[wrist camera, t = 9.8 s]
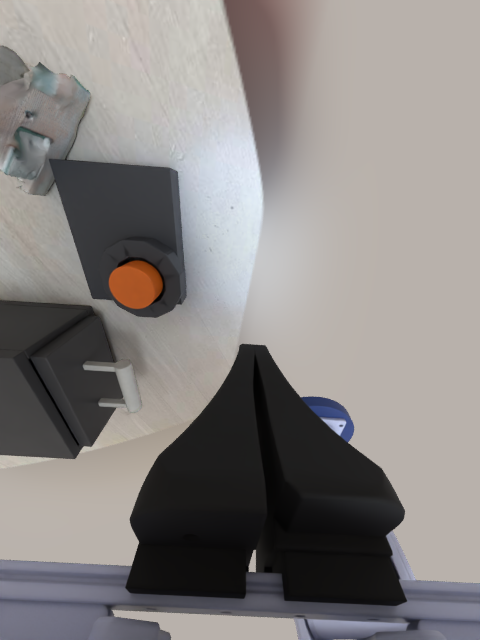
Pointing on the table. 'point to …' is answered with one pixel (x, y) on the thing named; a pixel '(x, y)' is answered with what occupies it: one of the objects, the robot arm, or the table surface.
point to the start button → (136, 284)
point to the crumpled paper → (36, 120)
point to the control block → (124, 225)
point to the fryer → (32, 380)
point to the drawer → (85, 379)
